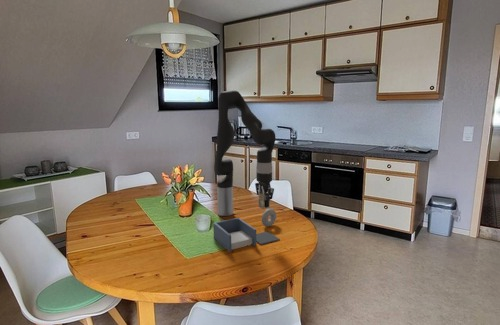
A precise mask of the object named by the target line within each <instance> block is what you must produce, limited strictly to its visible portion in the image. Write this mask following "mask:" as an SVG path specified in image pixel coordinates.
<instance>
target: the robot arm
mask: <svg viewBox="0 0 500 325" xmlns="http://www.w3.org/2000/svg"><path fill="white" fill-rule="evenodd" d="M217 103H218V122H217V124H218V125H217V126H218V127H217V136H216V151H215V157H214V164H213V165H214V166H213V170H214V175H215V176H219V177H220V176H224V178H221V179H219V180H218V181H217V184H216V186H217V187H216V189H217V192H216V194H217V215H218V216H221V217H229V216H232V215H234V190H233V188H234V187H233V184H234V162H233V160H232V159H231V158H229V159H227V158H226V159H223V158H224V156H225V154H226V153H227V152H228V150H229V149H230V148H231V147H232V145H233V143H234V139H235V129H234V126H233V125H232V123H231V122H230V120H229V114H228V113H229V110H232V109H237V110H239V111H240V119H241V122H242V124H243V125H244V127H245V128H246V129H247V130H248V131H249V133H250V136H251V138H252V140H253V142H254V143H255V144H257V145H259V146H260V145H263V146H262V147H261V148H260V149H258V150H257V151H256V167H255V168H256V169H255V170H256V171H255V172H256V174H255V175H256V178H255V179H256V181H257V182H256V183H254V185H255V192H256V195H257V196H259V193H262V192H263V195H264V199H265V200H264V207H265V209H268V208H267V207H269V200H270V201H271V200H273V197H274V192H275V188H273V187H271V186H272V185H271V182H272V181H273V162H272V161H273V150H274V148H275V145H276V144H275V143H276V139H277V138H276V133H275V131H274V130H273V129H271V128H263V123H262V122H261V120H260V119H259V118H258V117H257V116H256V115H255V114H254V113H253V112H252V110H251V109H250V107H249V105H248V103H247V102H246V101H245V99H244V97H243V96H242V95H241V93H240V92H239V91H237V90H226V91H220V93H219V96H218V102H217ZM266 192H267V193H266ZM266 195H267V197H266Z"/></svg>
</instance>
